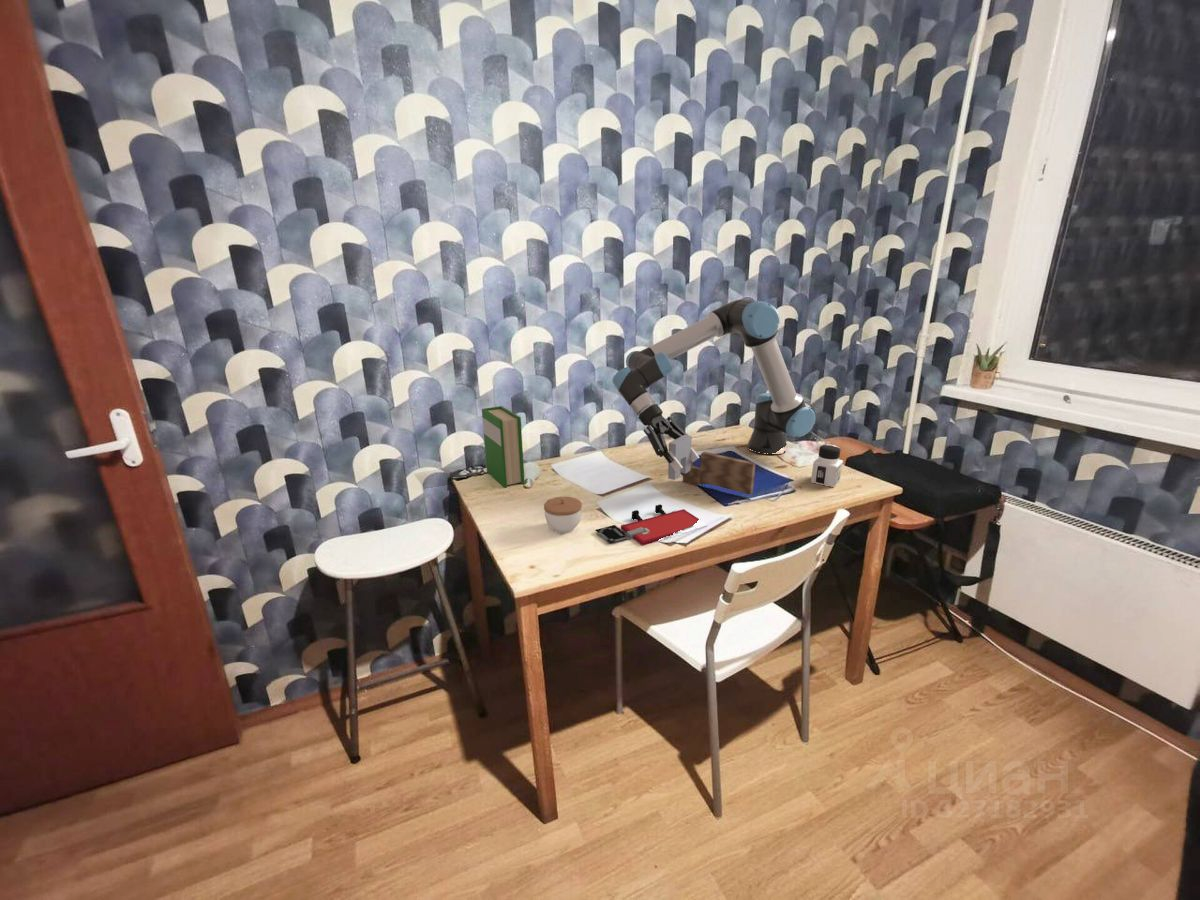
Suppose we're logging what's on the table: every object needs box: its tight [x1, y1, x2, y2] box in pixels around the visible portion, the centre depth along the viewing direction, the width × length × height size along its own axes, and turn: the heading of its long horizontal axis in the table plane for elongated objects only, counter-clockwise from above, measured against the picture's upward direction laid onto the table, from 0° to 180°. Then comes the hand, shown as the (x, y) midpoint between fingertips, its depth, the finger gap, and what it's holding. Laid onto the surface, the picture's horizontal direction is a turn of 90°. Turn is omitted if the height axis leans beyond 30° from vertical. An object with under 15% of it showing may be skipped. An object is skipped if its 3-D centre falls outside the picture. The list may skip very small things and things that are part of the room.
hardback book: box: [481, 405, 526, 489], centre depth 186 cm, size 18×7×24 cm, turn 31°
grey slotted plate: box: [667, 434, 693, 481], centre depth 170 cm, size 2×10×12 cm, turn 142°
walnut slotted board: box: [682, 451, 756, 495], centre depth 176 cm, size 24×2×12 cm, turn 52°
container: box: [810, 444, 844, 488], centre depth 182 cm, size 8×8×13 cm
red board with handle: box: [594, 504, 700, 546], centre depth 153 cm, size 30×3×15 cm
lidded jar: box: [543, 496, 583, 534], centre depth 152 cm, size 11×11×9 cm
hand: (688, 464), depth 169 cm, fingers closed on grey slotted plate, 10 cm apart
